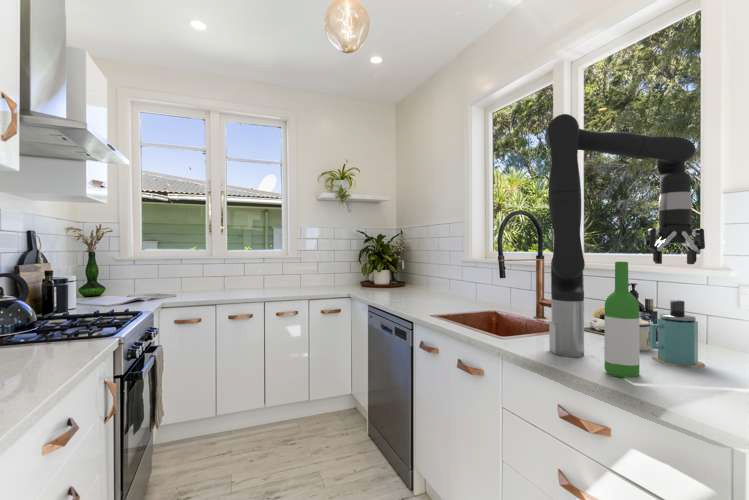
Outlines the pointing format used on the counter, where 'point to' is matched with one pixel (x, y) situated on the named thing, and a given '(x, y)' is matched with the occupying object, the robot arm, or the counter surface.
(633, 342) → the wine bottle
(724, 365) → the counter surface
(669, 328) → the press pot
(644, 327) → the teacup with lid
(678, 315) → the knob on metal rod
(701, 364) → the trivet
